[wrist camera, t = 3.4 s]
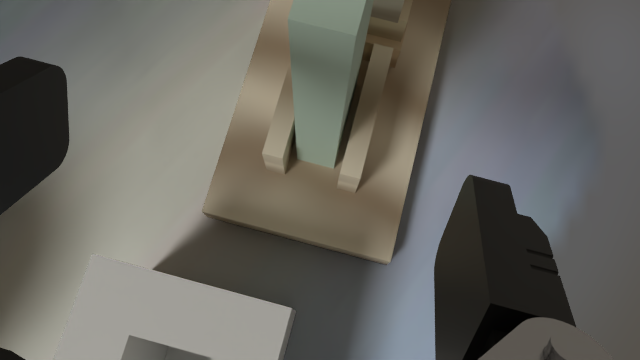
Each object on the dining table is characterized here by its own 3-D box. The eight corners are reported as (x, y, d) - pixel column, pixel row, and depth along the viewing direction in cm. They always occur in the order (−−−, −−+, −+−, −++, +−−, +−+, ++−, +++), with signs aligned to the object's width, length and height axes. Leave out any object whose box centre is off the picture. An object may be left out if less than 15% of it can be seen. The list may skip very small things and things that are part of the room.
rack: (386, 264, 29) (400, 255, 25) (206, 216, 30) (189, 199, 25) (453, -21, 34) (474, -72, 29) (295, -60, 34) (293, -115, 30)
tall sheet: (333, 168, 29) (356, 35, 15) (297, 159, 29) (287, 18, 16) (356, 83, 30) (395, -108, 17) (321, 75, 30) (332, -123, 17)
